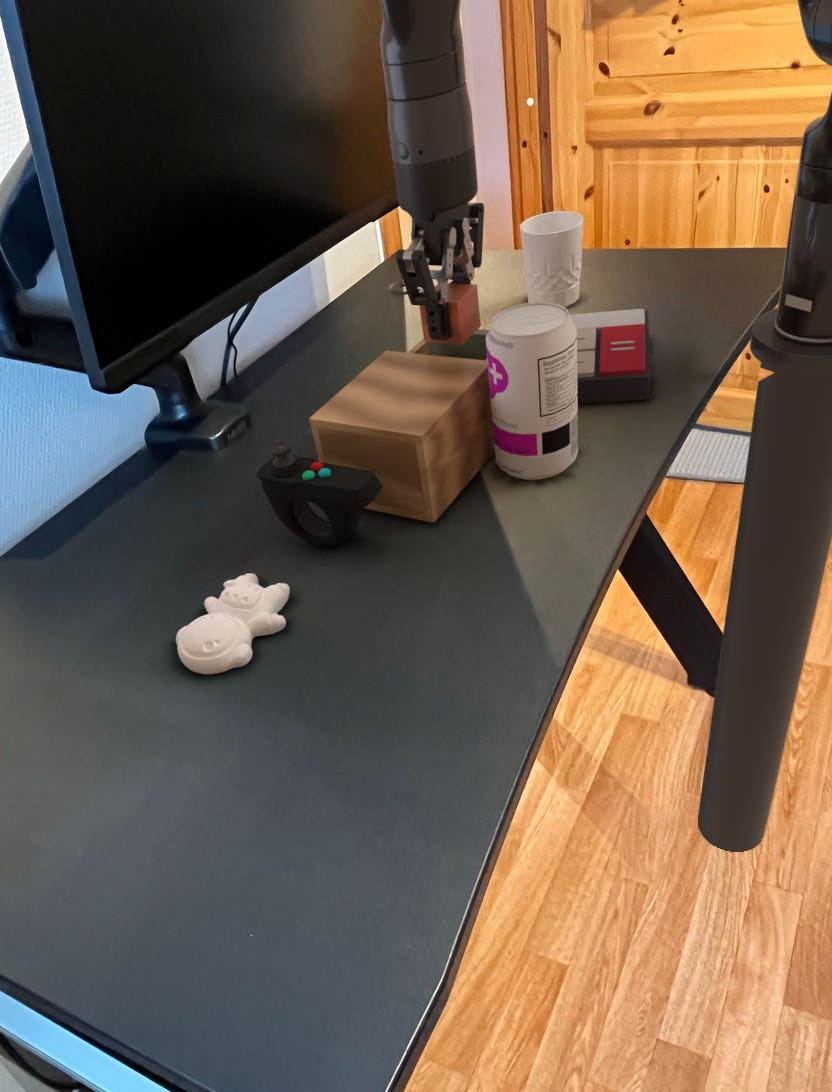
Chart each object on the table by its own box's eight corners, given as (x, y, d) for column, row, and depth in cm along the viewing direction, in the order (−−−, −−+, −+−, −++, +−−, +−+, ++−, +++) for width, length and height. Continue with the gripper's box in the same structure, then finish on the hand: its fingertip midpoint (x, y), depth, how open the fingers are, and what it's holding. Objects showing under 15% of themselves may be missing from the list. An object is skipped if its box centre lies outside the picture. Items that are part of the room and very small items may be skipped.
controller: (292, 517, 90) (269, 431, 83) (397, 538, 84) (381, 447, 77) (269, 542, 87) (243, 455, 80) (375, 565, 81) (356, 473, 75)
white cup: (556, 283, 121) (554, 207, 114) (596, 296, 115) (596, 217, 109) (511, 303, 119) (507, 227, 112) (550, 317, 113) (548, 238, 107)
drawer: (453, 372, 105) (446, 309, 100) (542, 382, 99) (539, 315, 94) (377, 448, 95) (365, 382, 90) (471, 463, 89) (464, 394, 84)
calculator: (543, 376, 94) (551, 310, 104) (545, 411, 97) (552, 344, 107) (651, 369, 91) (648, 302, 101) (649, 405, 94) (647, 337, 104)
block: (481, 326, 91) (477, 284, 88) (461, 345, 88) (457, 302, 85) (443, 323, 93) (439, 282, 90) (423, 341, 91) (418, 300, 88)
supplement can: (499, 488, 87) (487, 344, 77) (493, 445, 93) (481, 307, 83) (583, 477, 85) (582, 330, 75) (571, 434, 91) (569, 293, 82)
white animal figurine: (314, 602, 79) (306, 576, 77) (223, 687, 73) (213, 661, 71) (245, 576, 83) (237, 551, 81) (155, 654, 77) (143, 629, 75)
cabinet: (398, 430, 99) (385, 350, 92) (500, 445, 92) (493, 361, 86) (328, 500, 91) (308, 418, 84) (434, 523, 84) (421, 435, 78)
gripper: (430, 172, 73) (451, 363, 84) (504, 120, 81) (515, 301, 92) (356, 173, 77) (386, 356, 88) (434, 124, 85) (452, 297, 96)
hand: (452, 327), depth 90 cm, fingers closed on block, 4 cm apart
